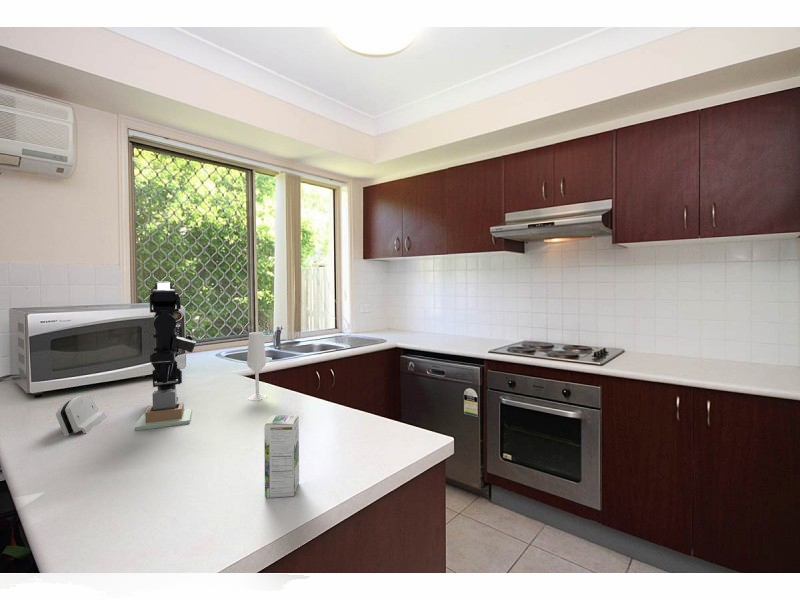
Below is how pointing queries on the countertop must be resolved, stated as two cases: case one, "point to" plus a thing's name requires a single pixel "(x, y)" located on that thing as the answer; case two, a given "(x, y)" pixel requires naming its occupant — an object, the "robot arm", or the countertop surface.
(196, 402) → the countertop surface
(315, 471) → the countertop surface
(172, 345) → the robot arm
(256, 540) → the countertop surface
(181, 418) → the post socket
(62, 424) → the hinge
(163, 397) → the brushed grey metal block
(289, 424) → the syrup box
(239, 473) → the countertop surface
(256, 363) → the champagne flute
